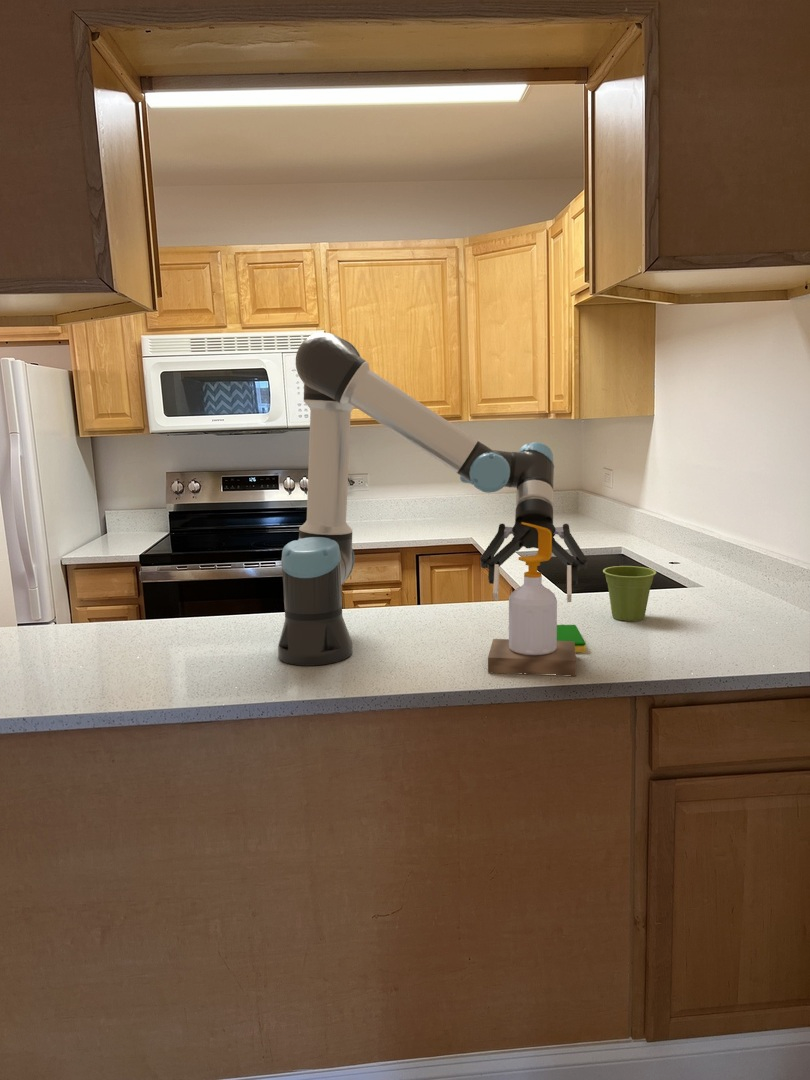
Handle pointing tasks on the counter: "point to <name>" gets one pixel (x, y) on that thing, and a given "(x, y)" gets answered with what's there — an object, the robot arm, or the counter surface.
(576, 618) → the counter surface
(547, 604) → the soap bottle
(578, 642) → the dish sponge
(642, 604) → the plant pot
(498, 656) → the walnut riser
